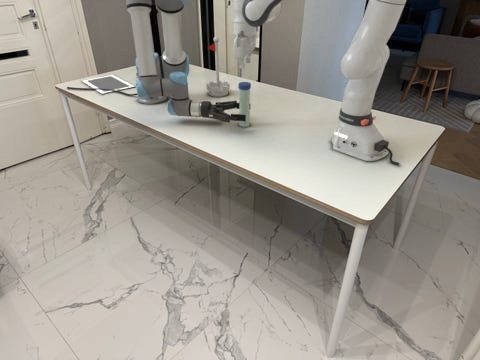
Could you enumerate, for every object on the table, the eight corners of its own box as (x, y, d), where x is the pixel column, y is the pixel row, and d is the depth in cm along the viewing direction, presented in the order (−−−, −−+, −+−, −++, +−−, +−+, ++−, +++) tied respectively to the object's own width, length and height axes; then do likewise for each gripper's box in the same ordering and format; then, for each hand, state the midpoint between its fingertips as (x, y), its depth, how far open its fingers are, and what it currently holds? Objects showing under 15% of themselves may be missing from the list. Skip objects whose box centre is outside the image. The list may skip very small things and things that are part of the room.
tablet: (81, 81, 211) (81, 80, 210) (113, 75, 222) (113, 74, 222) (102, 94, 190) (101, 93, 190) (135, 86, 201) (135, 86, 201)
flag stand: (225, 88, 199) (224, 33, 182) (233, 95, 188) (232, 38, 172) (204, 91, 195) (200, 35, 178) (210, 98, 184) (207, 39, 168)
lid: (236, 88, 145) (236, 84, 144) (242, 85, 149) (242, 81, 148) (246, 90, 143) (246, 86, 142) (253, 87, 147) (253, 83, 146)
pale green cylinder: (237, 125, 155) (237, 85, 145) (242, 122, 158) (242, 82, 148) (246, 127, 153) (246, 87, 143) (251, 124, 156) (251, 84, 146)
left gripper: (209, 107, 166) (252, 109, 163) (194, 128, 146) (243, 131, 143) (208, 92, 162) (252, 94, 159) (193, 111, 142) (243, 114, 138)
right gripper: (245, 34, 124) (244, 72, 132) (259, 25, 140) (258, 60, 148) (228, 33, 126) (229, 71, 133) (244, 25, 142) (244, 59, 150)
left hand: (248, 112), depth 151 cm, fingers open, 13 cm apart
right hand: (244, 65), depth 141 cm, fingers open, 7 cm apart
